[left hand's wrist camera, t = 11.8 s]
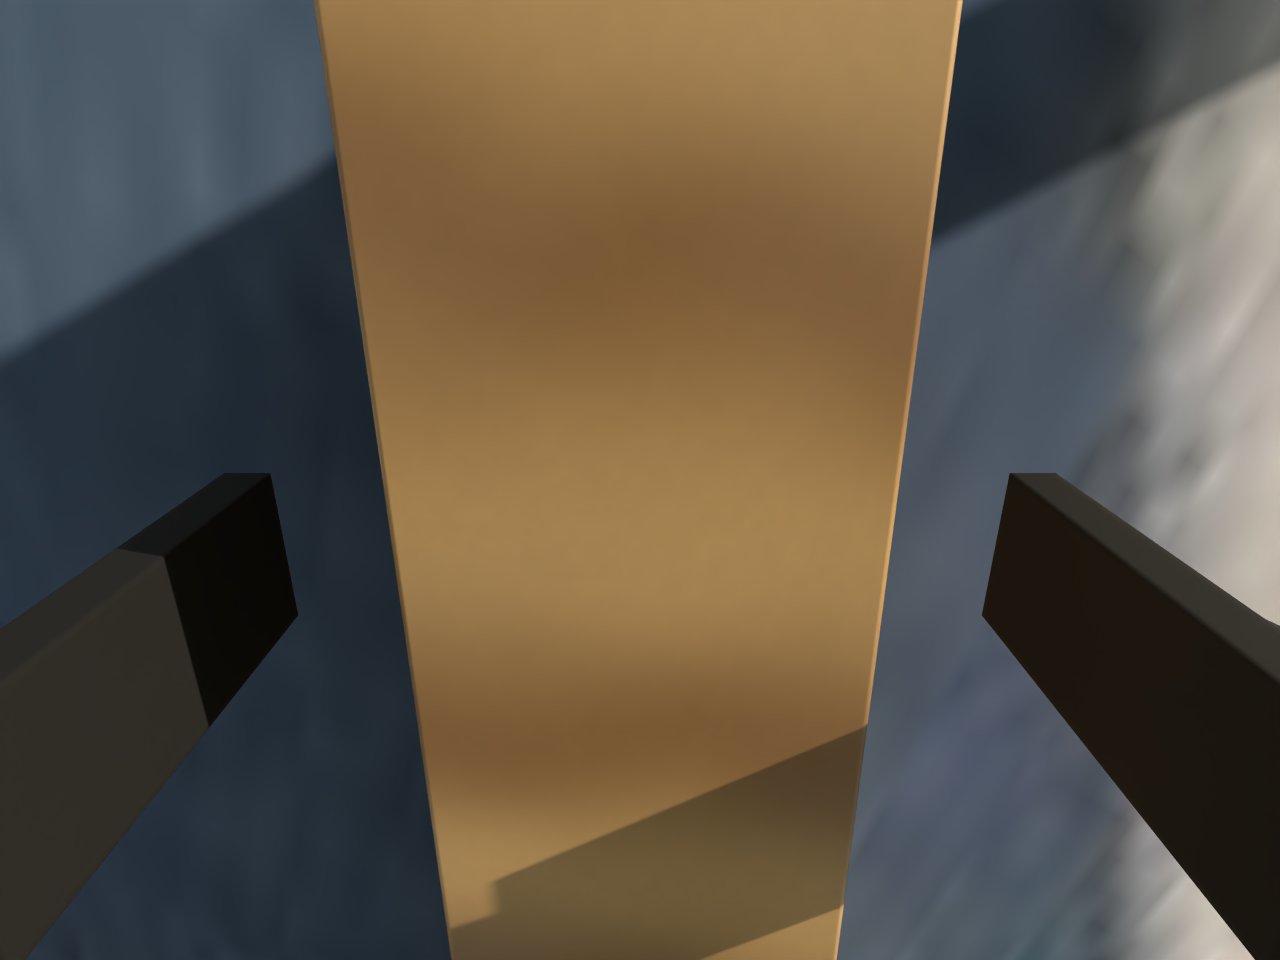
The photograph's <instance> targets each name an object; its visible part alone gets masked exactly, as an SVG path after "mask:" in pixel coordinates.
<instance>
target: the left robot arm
mask: <svg viewBox="0 0 1280 960" xmlns="http://www.w3.org/2000/svg"><path fill="white" fill-rule="evenodd" d="M297 616H298V612H297V607H296V602H295V597H294V592H293V587H292V582H291V577H290V572H289V566H288V561H287V556H286V551H285V546H284V541H283V536H282V531H281V526H280V520H279V515H278V510H277V505H276V500H275V495H274V490H273V485H272V480H271V475H270V473H224V474H223V475H221V476H220V477H218V478H217V479H215V480H214V481H213V482H211V483H210V484H208V485H207V486H205V487H204V488H203V489H201V490H200V491H198V492H197V493H195V494H194V495H192V496H191V497H190V498H188V499H187V500H185V501H184V502H182V503H181V504H180V505H178V506H177V507H175V508H174V509H172V510H171V511H170V512H168V513H167V514H165V515H164V516H162V517H161V518H159V519H158V520H157V521H155V522H154V523H152V524H151V525H149V526H148V527H147V528H145V529H144V530H142V531H141V532H139V533H138V534H136V535H135V536H134V537H132V538H131V539H129V540H128V541H126V542H125V543H124V544H122V545H121V546H119V547H118V548H116V549H115V550H113V551H112V552H111V553H109V554H108V555H106V556H105V557H103V558H102V559H101V560H99V561H98V562H96V563H95V564H93V565H92V566H91V567H89V568H88V569H86V570H85V571H83V572H82V573H80V574H79V575H78V576H76V577H75V578H73V579H72V580H70V581H69V582H68V583H66V584H65V585H63V586H62V587H60V588H59V589H57V590H56V591H55V592H53V593H52V594H50V595H49V596H47V597H46V598H45V599H43V600H42V601H40V602H39V603H37V604H36V605H34V606H33V607H32V608H30V609H29V610H27V611H26V612H24V613H23V614H22V615H20V616H19V617H17V618H16V619H14V620H13V621H12V622H10V623H9V624H7V625H6V626H4V627H3V628H1V629H0V960H25V959H26V958H27V956H28V955H29V954H30V953H31V951H32V950H33V949H34V948H35V946H36V945H37V944H38V943H39V941H40V940H41V939H42V938H43V936H44V935H45V934H46V933H47V931H48V930H49V929H50V927H51V926H52V925H53V924H54V922H55V921H56V920H57V919H58V917H59V916H60V915H61V914H62V912H63V911H64V910H65V909H66V907H67V906H68V905H69V904H70V902H71V901H72V900H73V898H74V897H75V896H76V895H77V893H78V892H79V891H80V890H81V888H82V887H83V886H84V885H85V883H86V882H87V881H88V880H89V878H90V877H91V876H92V874H93V873H94V872H95V871H96V869H97V868H98V867H99V866H100V864H101V863H102V862H103V861H104V859H105V858H106V857H107V856H108V854H109V853H110V852H111V851H112V849H113V848H114V847H115V845H116V844H117V843H118V842H119V840H120V839H121V838H122V837H123V835H124V834H125V833H126V832H127V830H128V829H129V828H130V827H131V825H132V824H133V823H134V822H135V820H136V819H137V818H138V816H139V815H140V814H141V813H142V811H143V810H144V809H145V808H146V806H147V805H148V804H149V803H150V801H151V800H152V799H153V798H154V796H155V795H156V794H157V793H158V791H159V790H160V789H161V787H162V786H163V785H164V784H165V782H166V781H167V780H168V779H169V777H170V776H171V775H172V774H173V772H174V771H175V770H176V769H177V767H178V766H179V765H180V763H181V762H182V761H183V760H184V758H185V757H186V756H187V755H188V753H189V752H190V751H191V750H192V748H193V747H194V746H195V745H196V743H197V742H198V741H199V740H200V738H201V737H202V736H203V734H204V733H205V732H206V731H207V729H208V728H209V727H210V726H211V724H212V723H213V722H214V721H215V719H216V718H217V717H218V716H219V714H220V713H221V712H222V711H223V709H224V708H225V707H226V705H227V704H228V703H229V702H230V700H231V699H232V698H233V697H234V695H235V694H236V693H237V692H238V690H239V689H240V688H241V687H242V685H243V684H244V683H245V682H246V680H247V679H248V678H249V676H250V675H251V674H252V673H253V671H254V670H255V669H256V668H257V666H258V665H259V664H260V663H261V661H262V660H263V659H264V658H265V656H266V655H267V654H268V653H269V651H270V650H271V649H272V647H273V646H274V645H275V644H276V642H277V641H278V640H279V639H280V637H281V636H282V635H283V634H284V632H285V631H286V630H287V629H288V627H289V626H290V625H291V623H292V622H293V621H294V620H295V618H296V617H297ZM982 616H983V617H984V618H985V620H986V621H987V622H988V624H989V625H990V626H991V627H992V629H993V630H994V631H995V632H996V634H997V635H998V636H999V637H1000V639H1001V640H1002V641H1003V642H1004V644H1005V645H1006V646H1007V647H1008V649H1009V650H1010V651H1011V653H1012V654H1013V655H1014V656H1015V658H1016V659H1017V660H1018V661H1019V663H1020V664H1021V665H1022V666H1023V668H1024V669H1025V670H1026V671H1027V673H1028V674H1029V675H1030V676H1031V678H1032V679H1033V680H1034V682H1035V683H1036V684H1037V685H1038V687H1039V688H1040V689H1041V690H1042V692H1043V693H1044V694H1045V695H1046V697H1047V698H1048V699H1049V700H1050V702H1051V703H1052V704H1053V705H1054V707H1055V708H1056V709H1057V711H1058V712H1059V713H1060V714H1061V716H1062V717H1063V718H1064V719H1065V721H1066V722H1067V723H1068V724H1069V726H1070V727H1071V728H1072V729H1073V731H1074V732H1075V733H1076V735H1077V736H1078V737H1079V738H1080V740H1081V741H1082V742H1083V743H1084V745H1085V746H1086V747H1087V748H1088V750H1089V751H1090V752H1091V753H1092V755H1093V756H1094V757H1095V758H1096V760H1097V761H1098V762H1099V764H1100V765H1101V766H1102V767H1103V769H1104V770H1105V771H1106V772H1107V774H1108V775H1109V776H1110V777H1111V779H1112V780H1113V781H1114V782H1115V784H1116V785H1117V786H1118V787H1119V789H1120V790H1121V791H1122V793H1123V794H1124V795H1125V796H1126V798H1127V799H1128V800H1129V801H1130V803H1131V804H1132V805H1133V806H1134V808H1135V809H1136V810H1137V811H1138V813H1139V814H1140V815H1141V816H1142V818H1143V819H1144V820H1145V822H1146V823H1147V824H1148V825H1149V827H1150V828H1151V829H1152V830H1153V832H1154V833H1155V834H1156V835H1157V837H1158V838H1159V839H1160V840H1161V842H1162V843H1163V844H1164V846H1165V847H1166V848H1167V849H1168V851H1169V852H1170V853H1171V854H1172V856H1173V857H1174V858H1175V859H1176V861H1177V862H1178V863H1179V864H1180V866H1181V867H1182V868H1183V869H1184V871H1185V872H1186V873H1187V875H1188V876H1189V877H1190V878H1191V880H1192V881H1193V882H1194V883H1195V885H1196V886H1197V887H1198V888H1199V890H1200V891H1201V892H1202V893H1203V895H1204V896H1205V897H1206V898H1207V900H1208V901H1209V902H1210V904H1211V905H1212V906H1213V907H1214V909H1215V910H1216V911H1217V912H1218V914H1219V915H1220V916H1221V917H1222V919H1223V920H1224V921H1225V922H1226V924H1227V925H1228V926H1229V927H1230V929H1231V930H1232V931H1233V933H1234V934H1235V935H1236V936H1237V938H1238V939H1239V940H1240V941H1241V943H1242V944H1243V945H1244V946H1245V948H1246V949H1247V950H1248V951H1249V953H1250V954H1251V955H1252V956H1253V958H1254V959H1255V960H1280V626H1279V625H1277V624H1275V623H1272V622H1270V621H1268V620H1266V619H1264V618H1263V617H1261V616H1260V615H1258V614H1257V613H1256V612H1254V611H1253V610H1251V609H1250V608H1248V607H1247V606H1245V605H1244V604H1243V603H1241V602H1240V601H1238V600H1237V599H1235V598H1234V597H1233V596H1231V595H1230V594H1228V593H1227V592H1225V591H1224V590H1223V589H1221V588H1220V587H1218V586H1217V585H1215V584H1214V583H1212V582H1211V581H1210V580H1208V579H1207V578H1205V577H1204V576H1202V575H1201V574H1200V573H1198V572H1197V571H1195V570H1194V569H1192V568H1191V567H1189V566H1188V565H1187V564H1185V563H1184V562H1182V561H1181V560H1179V559H1178V558H1177V557H1175V556H1174V555H1172V554H1171V553H1169V552H1168V551H1166V550H1165V549H1164V548H1162V547H1161V546H1159V545H1158V544H1156V543H1155V542H1154V541H1152V540H1151V539H1149V538H1148V537H1146V536H1145V535H1144V534H1142V533H1141V532H1139V531H1138V530H1136V529H1135V528H1133V527H1132V526H1131V525H1129V524H1128V523H1126V522H1125V521H1123V520H1122V519H1121V518H1119V517H1118V516H1116V515H1115V514H1113V513H1112V512H1110V511H1109V510H1108V509H1106V508H1105V507H1103V506H1102V505H1100V504H1099V503H1098V502H1096V501H1095V500H1093V499H1092V498H1090V497H1089V496H1087V495H1086V494H1085V493H1083V492H1082V491H1080V490H1079V489H1077V488H1076V487H1075V486H1073V485H1072V484H1070V483H1069V482H1067V481H1066V480H1065V479H1063V478H1062V477H1060V476H1059V475H1057V474H1056V473H1010V474H1009V480H1008V485H1007V490H1006V495H1005V500H1004V505H1003V510H1002V515H1001V520H1000V526H999V531H998V536H997V541H996V546H995V551H994V556H993V561H992V566H991V571H990V577H989V582H988V587H987V592H986V597H985V602H984V607H983V612H982Z"/></svg>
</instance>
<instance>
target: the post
mask: <svg viewBox="0 0 1280 960" xmlns="http://www.w3.org/2000/svg"><path fill="white" fill-rule="evenodd" d="M962 2H963V0H314V6H315V13H316V20H317V27H318V34H319V41H320V48H321V55H322V62H323V69H324V76H325V83H326V90H327V97H328V103H329V110H330V117H331V124H332V131H333V138H334V145H335V152H336V159H337V166H338V173H339V180H340V187H341V194H342V201H343V208H344V215H345V222H346V229H347V236H348V243H349V250H350V257H351V264H352V271H353V278H354V285H355V292H356V299H357V306H358V313H359V320H360V327H361V334H362V341H363V347H364V354H365V361H366V368H367V375H368V382H369V389H370V396H371V403H372V410H373V417H374V424H375V431H376V438H377V445H378V452H379V459H380V466H381V473H382V480H383V487H384V494H385V501H386V508H387V515H388V522H389V529H390V536H391V543H392V550H393V557H394V564H395V571H396V578H397V585H398V592H399V598H400V605H401V612H402V619H403V626H404V633H405V640H406V647H407V654H408V661H409V668H410V675H411V682H412V689H413V696H414V703H415V710H416V717H417V724H418V731H419V738H420V745H421V752H422V759H423V766H424V773H425V780H426V787H427V794H428V801H429V808H430V815H431V822H432V829H433V836H434V842H435V849H436V856H437V863H438V870H439V877H440V884H441V891H442V898H443V905H444V912H445V919H446V926H447V933H448V940H449V947H450V954H451V960H836V959H837V952H838V944H839V936H840V929H841V921H842V914H843V906H844V898H845V891H846V883H847V876H848V868H849V860H850V853H851V845H852V838H853V830H854V822H855V815H856V807H857V800H858V792H859V784H860V777H861V769H862V762H863V754H864V746H865V739H866V731H867V724H868V716H869V708H870V701H871V693H872V686H873V678H874V670H875V663H876V655H877V648H878V640H879V632H880V625H881V617H882V610H883V602H884V594H885V587H886V579H887V572H888V564H889V556H890V549H891V541H892V534H893V526H894V518H895V511H896V503H897V496H898V488H899V480H900V473H901V465H902V458H903V450H904V442H905V435H906V427H907V420H908V412H909V405H910V397H911V389H912V382H913V374H914V367H915V359H916V351H917V344H918V336H919V329H920V321H921V313H922V306H923V298H924V291H925V283H926V275H927V268H928V260H929V253H930V245H931V237H932V230H933V222H934V215H935V207H936V199H937V192H938V184H939V177H940V169H941V161H942V154H943V146H944V139H945V131H946V123H947V116H948V108H949V101H950V93H951V85H952V78H953V70H954V63H955V55H956V47H957V40H958V32H959V25H960V17H961V9H962Z"/></svg>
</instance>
